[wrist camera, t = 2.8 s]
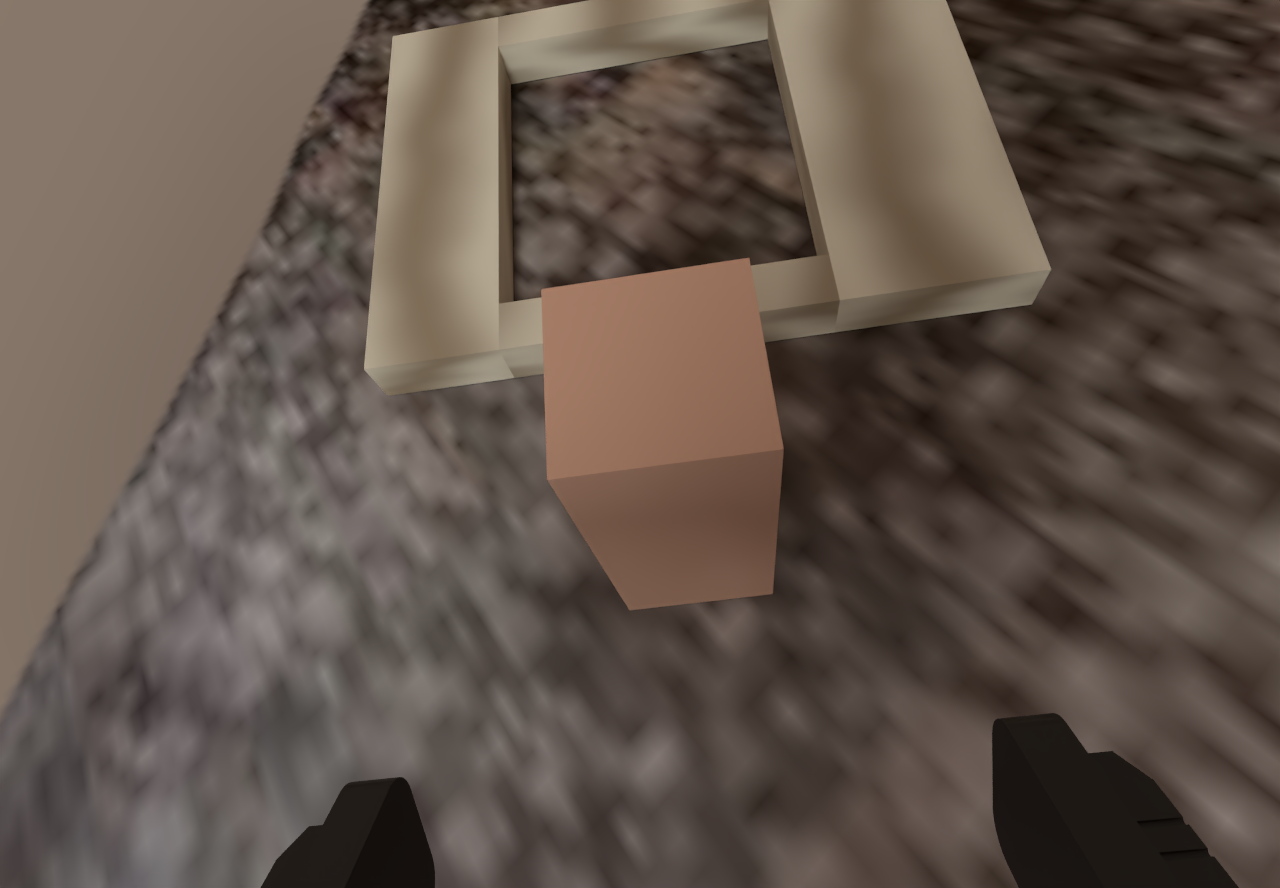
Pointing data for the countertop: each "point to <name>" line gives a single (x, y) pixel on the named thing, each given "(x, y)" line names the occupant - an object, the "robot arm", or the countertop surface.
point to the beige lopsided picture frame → (822, 145)
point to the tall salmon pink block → (666, 431)
